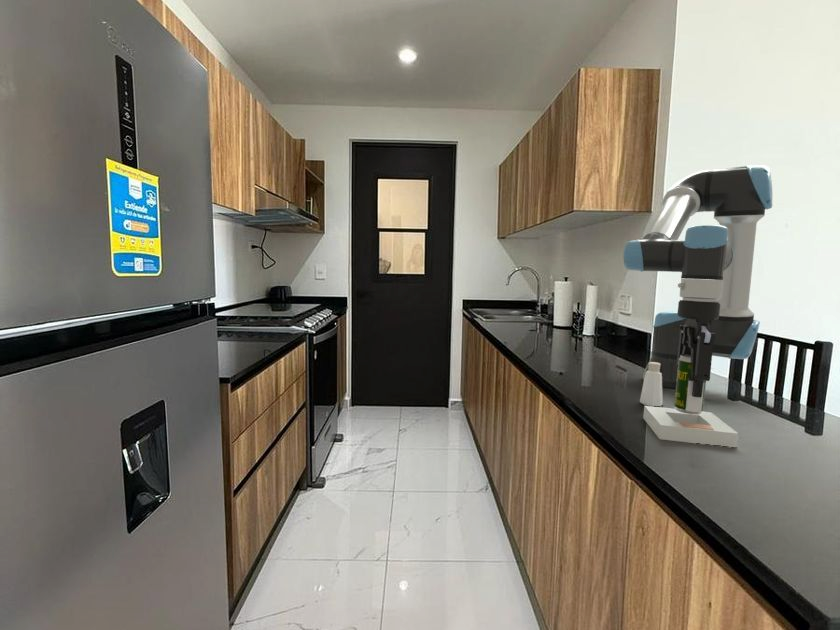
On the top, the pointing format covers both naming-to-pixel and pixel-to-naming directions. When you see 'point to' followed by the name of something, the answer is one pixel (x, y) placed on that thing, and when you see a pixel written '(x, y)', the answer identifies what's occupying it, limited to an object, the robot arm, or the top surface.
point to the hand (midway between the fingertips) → (688, 406)
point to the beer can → (684, 384)
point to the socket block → (689, 427)
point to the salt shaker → (652, 386)
